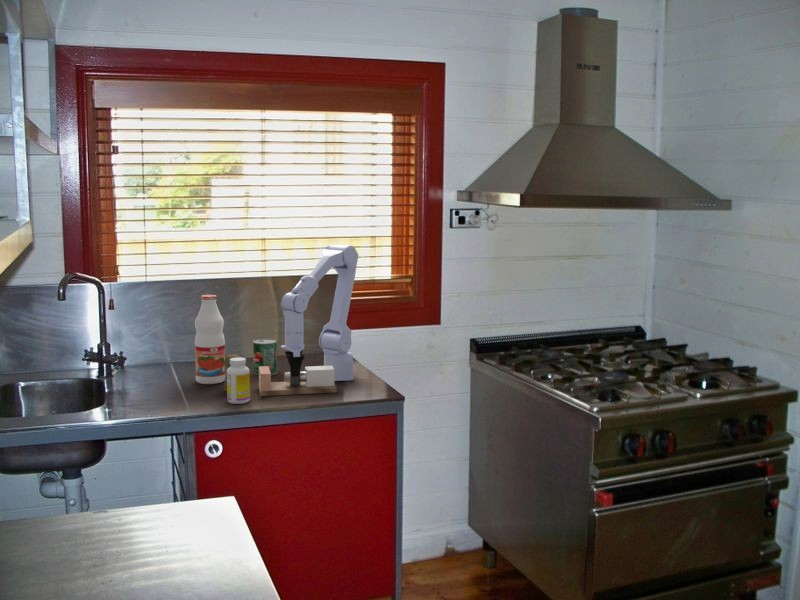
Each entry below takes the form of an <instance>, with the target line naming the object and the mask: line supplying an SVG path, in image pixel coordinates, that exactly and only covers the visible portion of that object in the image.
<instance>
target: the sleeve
mask: <svg viewBox="0 0 800 600" xmlns="http://www.w3.org/2000/svg"><path fill="white" fill-rule="evenodd" d="M304 372H307V382H305V384H306V386H307V387H316V386H334V384H335V381H334V368H333V366H324V365H314V366H313V365H312V366H305V367H304Z"/></svg>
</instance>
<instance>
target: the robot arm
mask: <svg viewBox="0 0 800 600" xmlns="http://www.w3.org/2000/svg"><path fill="white" fill-rule="evenodd" d="M358 259H359V252H358V251H357V249H356V248H355V246H353V245H342V244H341V245H340V244H333V243H330V244H327V245H326V247H325V248H324V249H323V250H322V253H321V258H320V260H319V261H318V262H317V263H316V265H315V266H314V268H313V269H312V270H311V272H310V274H308V275H304V276H301V278H300V280H299V281H298V283H297V284H296V285H295V286H294V287H293V288H292V290H291V291H290V292H286V293H285V294H283V296H282V299H281V300H280V301H281V302H280V303H279V304H280V305H279V306H280V308H281V309H282V312H283V314H282V315H283V316H284V345H280V348H281V349H282V350H284V353H285V357H286V359H287V362H288V365H289V364H290V370H291V375H292V377H299V374H300V372H301V368H302V364H303V361H304V359H305V358H306V357H305V354H304V353H303V350H304V349H305V344H304V343H305V342H304V339H305V338H304V336H305V335H304V331H305V330H304V326H305V325H304V312H305V311H306V310H307V309H308V305H309V302H310V298H311V297H312V296H313V295H314V294H315V292H316V291H317V289H318V288H319V282H320V281H321V279H323V277H325V276H326V274H327V273H328V272H329V271H330V270H331V269H333V270H335V271H336V273H337V275H338V276H337V279H336V280H337V281H336V287H335V292H334V297H333V302H332V309H331V314H330V319H329V322H327V323H326V324H324V325H323V326H322V331H321V333H320V335H319V336H318V345H319V347H320V348H321V349H322V352H323V353H324V354H323V356H324V357H323V366H333V368H334V382H342V381H344V382H345V381H354V358H353V357H354V355H353V352H352V351H349V350H350V349H351V347H352V330H351V329H350V328H349V326H348V325H347V321H348V316H349V311H350V305H351V300H352V294H353V288H354V283H355V278H356V272H357V271H356V270H357V265H358Z"/></svg>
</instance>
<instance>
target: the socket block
mask: <svg viewBox="0 0 800 600" xmlns="http://www.w3.org/2000/svg"><path fill="white" fill-rule="evenodd" d="M271 378H272V375H271V373H270V370H269V366H259V375H258V383H259V385H260V389H261V391H271V382H272V380H271Z"/></svg>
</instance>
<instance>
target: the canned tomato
mask: <svg viewBox="0 0 800 600" xmlns="http://www.w3.org/2000/svg"><path fill="white" fill-rule="evenodd" d="M277 343H278V342H277V340H276V339H273V338H259V339H258V338H257V339H253V340H252V346H253V347H252V351H253V352H252V354H253V374H254V375H256V376H259V366H269V370H270V373H271V376H273V375H274V376H275V375H276V374H277V373H278V362H277V361H278V358H277V357H278V355H277V354H278V353H277V352H278V351H277V350H278V349H277V347H278V345H277Z"/></svg>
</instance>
